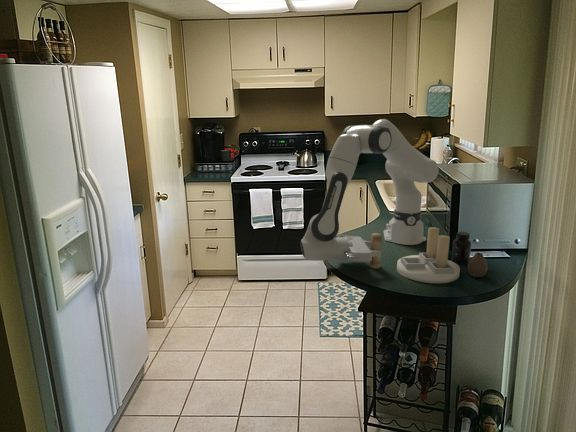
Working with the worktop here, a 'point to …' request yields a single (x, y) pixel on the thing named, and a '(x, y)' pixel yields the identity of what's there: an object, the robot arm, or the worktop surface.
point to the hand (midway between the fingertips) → (377, 248)
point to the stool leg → (375, 245)
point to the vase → (477, 265)
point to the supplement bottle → (461, 248)
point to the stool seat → (430, 261)
